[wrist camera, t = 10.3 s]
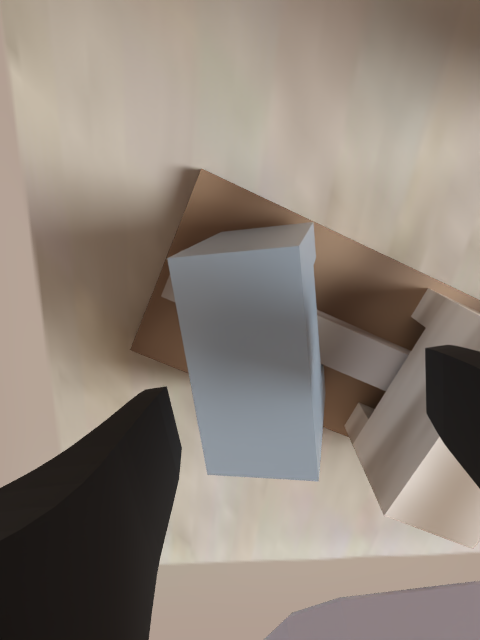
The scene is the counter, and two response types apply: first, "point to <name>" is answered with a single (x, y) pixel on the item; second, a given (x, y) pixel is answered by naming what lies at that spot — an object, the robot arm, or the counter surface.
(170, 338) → the board
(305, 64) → the counter surface
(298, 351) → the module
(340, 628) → the robot arm
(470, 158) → the counter surface
